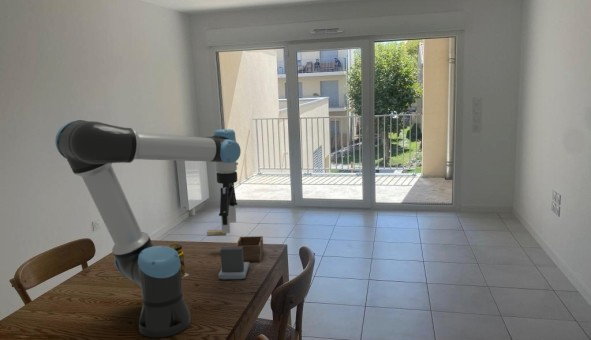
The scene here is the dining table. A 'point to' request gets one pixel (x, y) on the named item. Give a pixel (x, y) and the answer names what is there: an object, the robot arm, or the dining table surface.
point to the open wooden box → (251, 248)
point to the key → (215, 233)
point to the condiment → (181, 257)
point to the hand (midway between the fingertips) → (229, 227)
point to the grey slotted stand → (233, 263)
